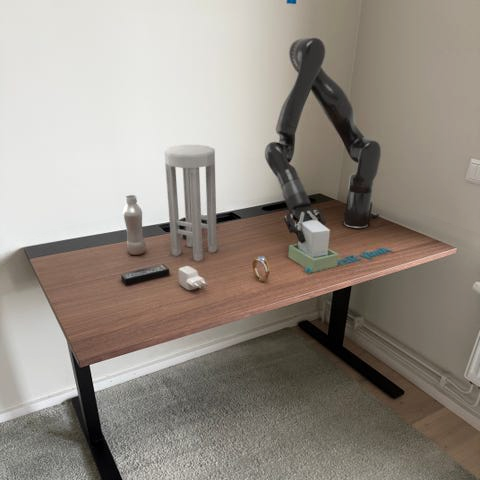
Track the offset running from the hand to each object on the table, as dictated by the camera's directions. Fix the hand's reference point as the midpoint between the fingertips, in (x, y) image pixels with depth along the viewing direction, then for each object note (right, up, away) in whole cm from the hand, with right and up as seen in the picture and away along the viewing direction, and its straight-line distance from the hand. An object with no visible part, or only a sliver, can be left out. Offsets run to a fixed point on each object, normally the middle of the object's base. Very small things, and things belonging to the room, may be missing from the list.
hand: (313, 240), depth 158 cm
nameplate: (+13, -7, +4) cm, 15 cm away
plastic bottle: (-60, -3, +9) cm, 61 cm away
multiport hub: (-54, -13, -8) cm, 56 cm away
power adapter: (-38, -18, -15) cm, 45 cm away
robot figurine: (-43, +9, +29) cm, 52 cm away
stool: (-40, -3, +10) cm, 42 cm away
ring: (-18, -14, -9) cm, 25 cm away
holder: (0, -7, +3) cm, 7 cm away
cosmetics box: (0, -5, +2) cm, 5 cm away
